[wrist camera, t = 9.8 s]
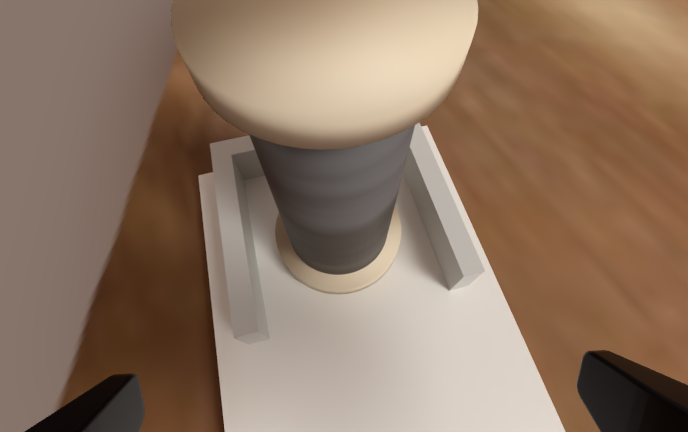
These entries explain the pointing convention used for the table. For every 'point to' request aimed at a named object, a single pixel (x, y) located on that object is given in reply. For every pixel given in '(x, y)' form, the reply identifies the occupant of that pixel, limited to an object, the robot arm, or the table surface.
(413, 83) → the disc
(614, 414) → the robot arm
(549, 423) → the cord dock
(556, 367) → the table surface
